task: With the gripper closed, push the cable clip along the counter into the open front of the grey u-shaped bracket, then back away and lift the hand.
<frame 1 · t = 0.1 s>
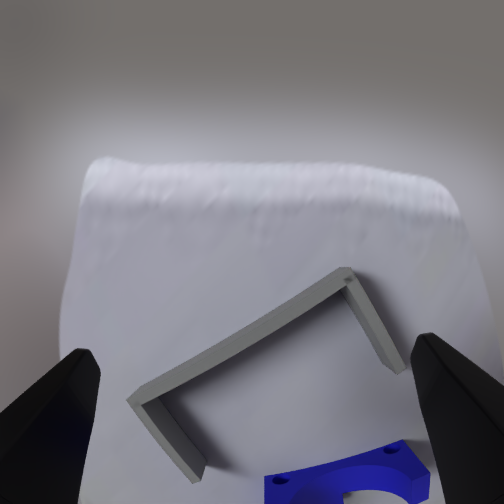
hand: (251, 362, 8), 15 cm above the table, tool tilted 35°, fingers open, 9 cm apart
grey u-shaped bracket: (266, 381, 22), on the table
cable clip: (337, 477, 22), on the table
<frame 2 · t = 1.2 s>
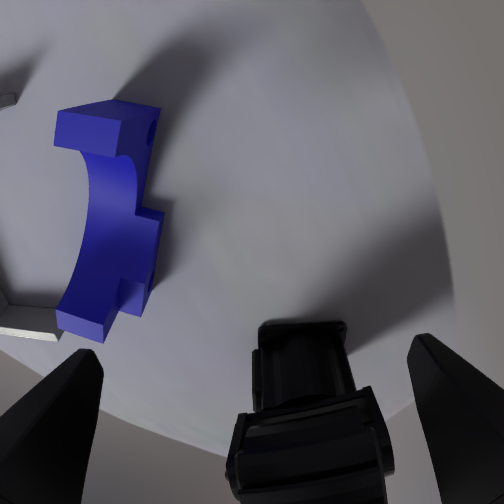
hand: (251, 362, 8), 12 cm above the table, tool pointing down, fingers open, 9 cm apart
grey u-shaped bracket: (2, 220, 19), on the table
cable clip: (131, 201, 19), on the table
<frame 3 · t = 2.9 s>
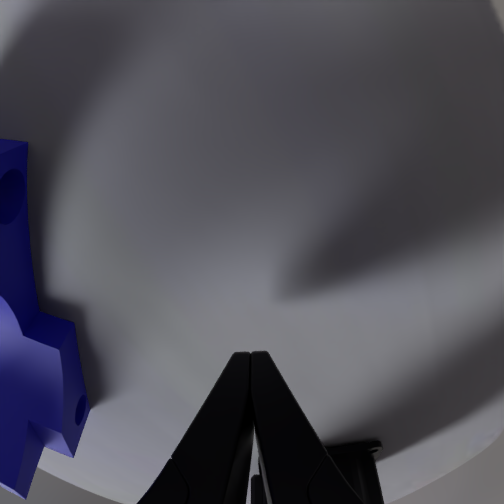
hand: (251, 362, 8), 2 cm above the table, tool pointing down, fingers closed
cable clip: (28, 299, 10), on the table
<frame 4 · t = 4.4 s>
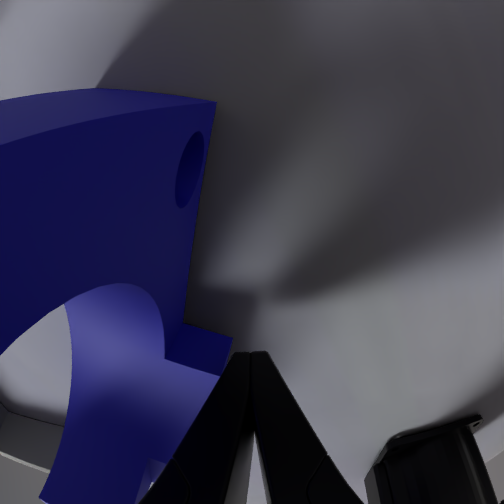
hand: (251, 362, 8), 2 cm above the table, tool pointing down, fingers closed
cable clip: (161, 311, 9), on the table, touching gripper
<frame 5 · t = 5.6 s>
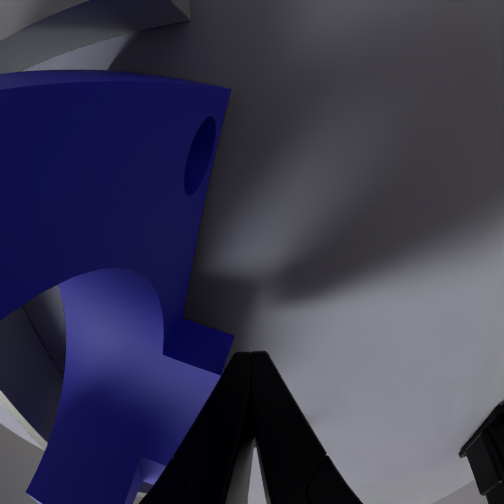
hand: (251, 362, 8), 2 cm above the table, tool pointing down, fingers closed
grey u-shaped bracket: (106, 323, 9), on the table
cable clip: (161, 305, 9), on the table, touching gripper
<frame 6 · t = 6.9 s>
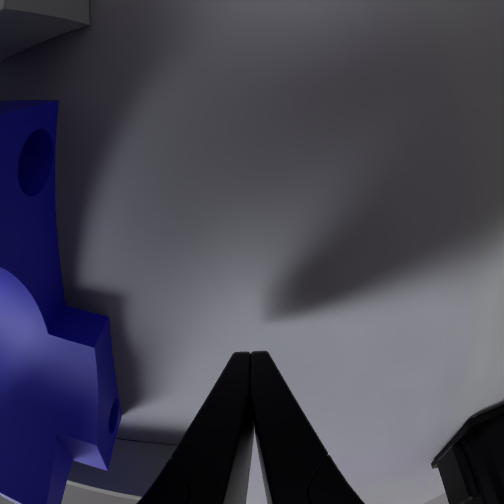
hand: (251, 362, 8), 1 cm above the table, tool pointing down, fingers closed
grey u-shaped bracket: (42, 320, 9), on the table
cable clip: (51, 292, 9), on the table
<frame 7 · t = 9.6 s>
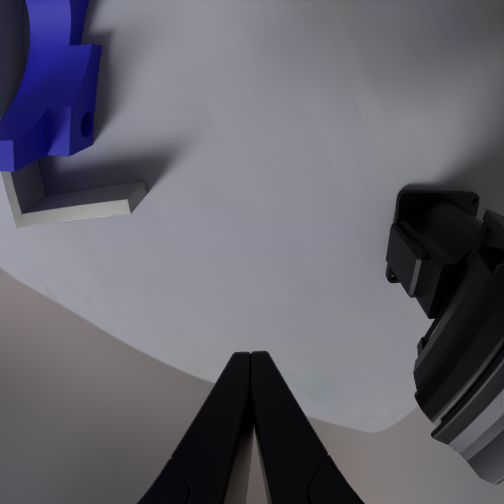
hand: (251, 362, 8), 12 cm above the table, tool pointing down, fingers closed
grey u-shaped bracket: (68, 64, 14), on the table
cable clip: (72, 48, 14), on the table
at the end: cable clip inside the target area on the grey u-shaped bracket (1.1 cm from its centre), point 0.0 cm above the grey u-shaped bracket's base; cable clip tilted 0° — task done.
